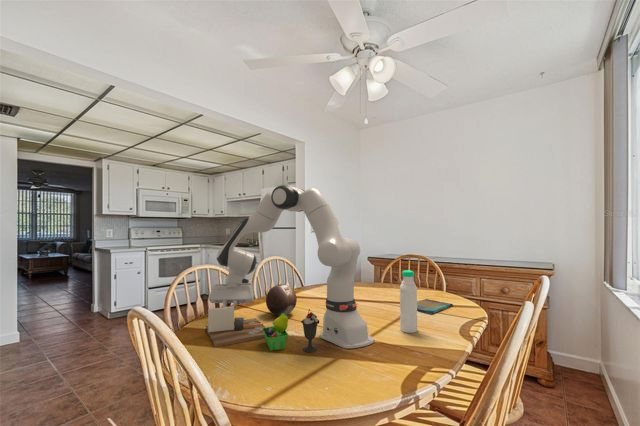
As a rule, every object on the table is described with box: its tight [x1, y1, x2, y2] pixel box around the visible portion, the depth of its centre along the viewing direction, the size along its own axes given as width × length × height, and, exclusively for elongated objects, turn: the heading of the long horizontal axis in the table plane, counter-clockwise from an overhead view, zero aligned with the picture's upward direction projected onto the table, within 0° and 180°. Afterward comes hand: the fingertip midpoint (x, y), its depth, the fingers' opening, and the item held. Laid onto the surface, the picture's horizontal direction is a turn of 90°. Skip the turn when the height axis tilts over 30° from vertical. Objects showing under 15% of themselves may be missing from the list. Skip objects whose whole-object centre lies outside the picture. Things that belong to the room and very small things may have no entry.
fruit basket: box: [263, 313, 289, 351], centre depth 115 cm, size 11×9×11 cm
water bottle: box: [399, 269, 419, 334], centre depth 129 cm, size 7×7×25 cm
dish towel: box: [417, 298, 454, 316], centre depth 164 cm, size 17×23×2 cm
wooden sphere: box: [265, 283, 297, 317], centre depth 151 cm, size 15×15×15 cm
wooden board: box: [205, 318, 266, 348], centre depth 127 cm, size 22×22×1 cm
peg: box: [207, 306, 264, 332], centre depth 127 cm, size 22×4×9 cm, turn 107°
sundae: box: [300, 308, 320, 353], centre depth 110 cm, size 7×7×15 cm
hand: (228, 310), depth 138 cm, fingers closed
